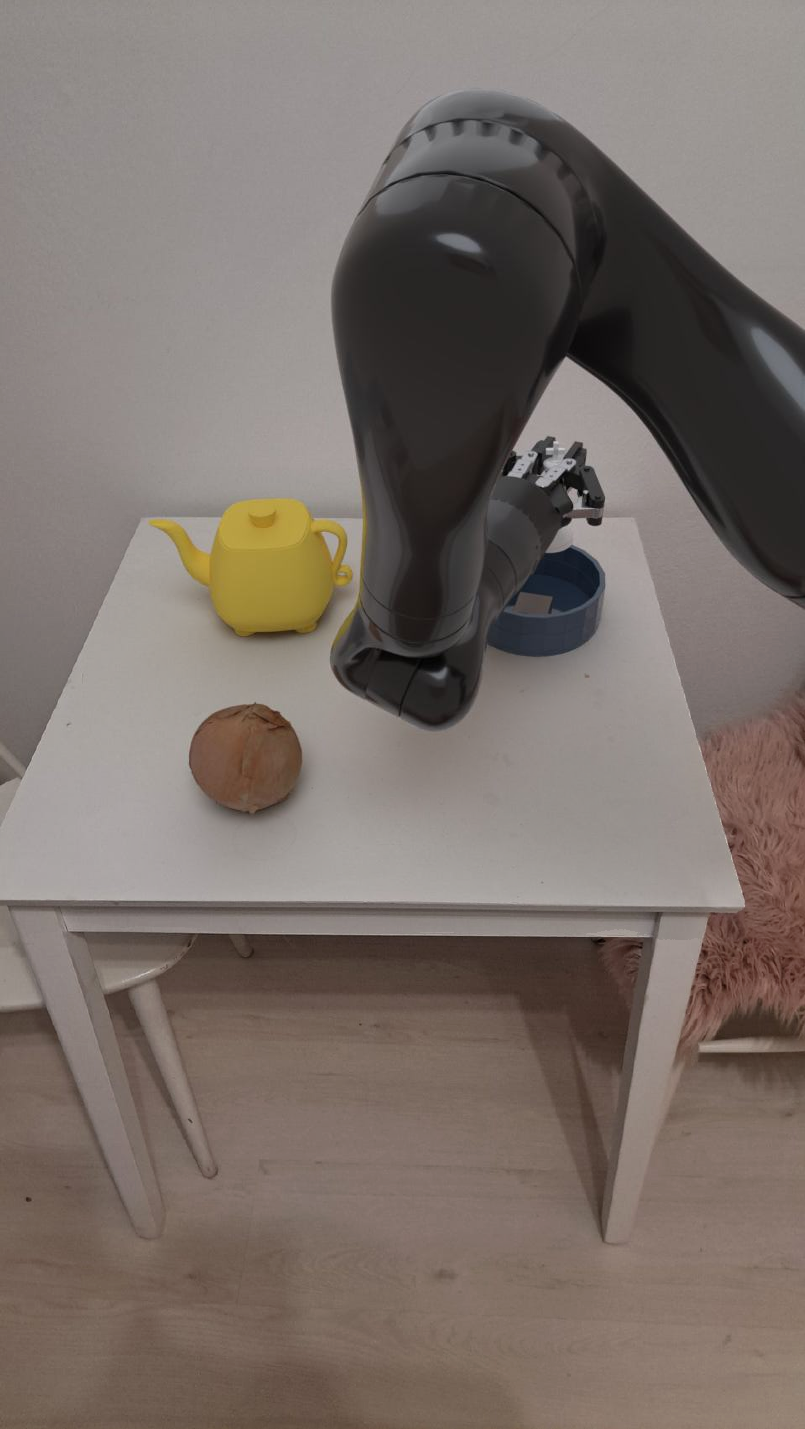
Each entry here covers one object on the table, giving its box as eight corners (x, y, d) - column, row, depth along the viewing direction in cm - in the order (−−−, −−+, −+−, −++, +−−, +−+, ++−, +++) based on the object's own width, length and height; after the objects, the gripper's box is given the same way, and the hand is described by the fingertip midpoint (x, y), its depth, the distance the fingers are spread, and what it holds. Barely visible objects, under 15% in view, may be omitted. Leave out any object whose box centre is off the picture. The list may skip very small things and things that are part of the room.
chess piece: (575, 553, 87) (587, 455, 80) (523, 553, 87) (530, 456, 81) (570, 525, 91) (581, 429, 84) (519, 525, 91) (526, 430, 84)
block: (550, 623, 97) (553, 596, 95) (544, 644, 95) (547, 616, 92) (517, 618, 98) (519, 591, 96) (510, 638, 96) (512, 611, 93)
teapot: (356, 644, 97) (348, 540, 88) (163, 655, 96) (136, 552, 87) (354, 568, 106) (346, 468, 98) (179, 577, 106) (155, 478, 97)
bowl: (615, 593, 102) (621, 554, 98) (575, 671, 93) (581, 632, 89) (494, 563, 106) (496, 526, 103) (445, 635, 97) (445, 596, 94)
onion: (284, 786, 87) (313, 693, 82) (286, 845, 78) (318, 745, 74) (182, 765, 84) (207, 668, 80) (173, 824, 76) (200, 719, 72)
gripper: (583, 521, 70) (644, 423, 81) (416, 484, 74) (496, 396, 85) (573, 602, 75) (632, 499, 86) (418, 563, 79) (493, 470, 90)
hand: (564, 448), depth 86 cm, fingers closed on chess piece
